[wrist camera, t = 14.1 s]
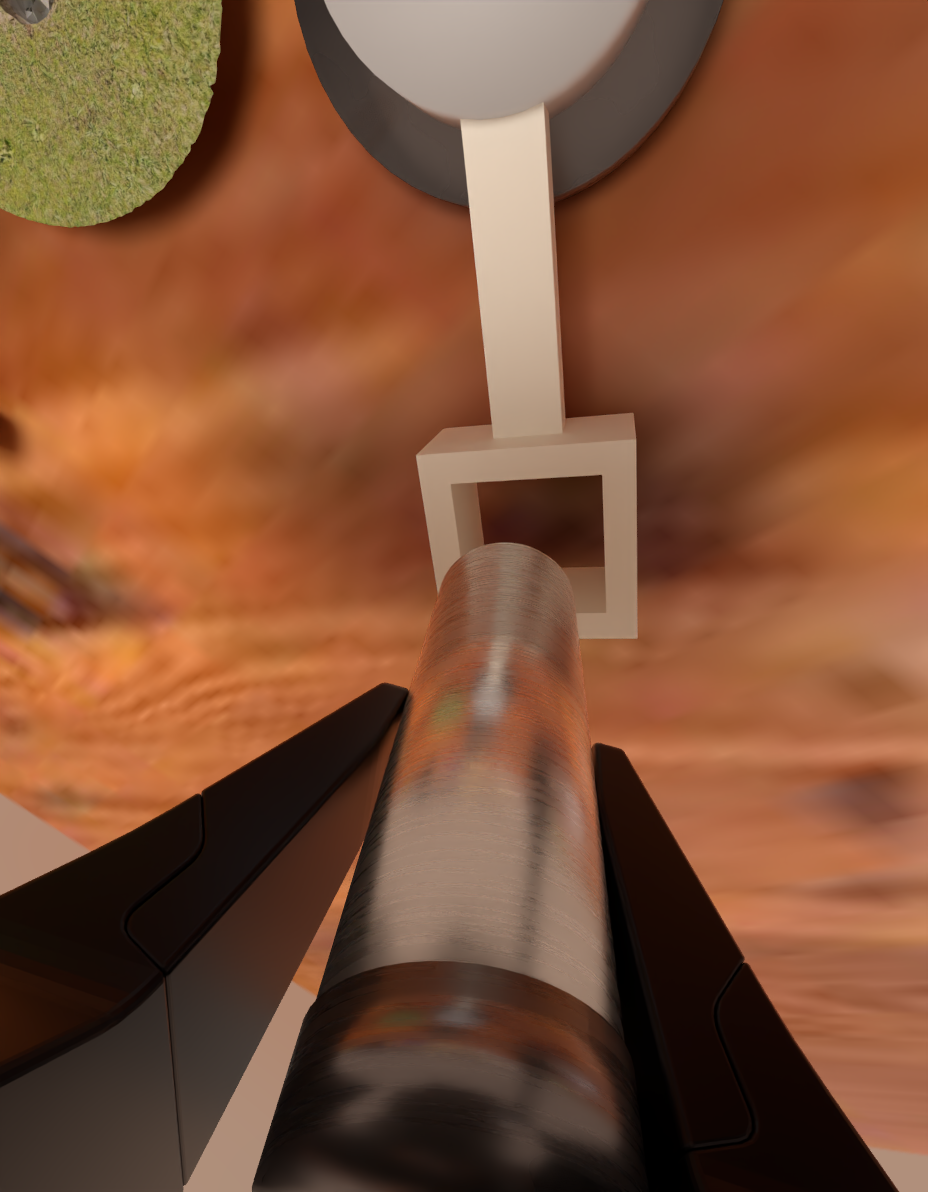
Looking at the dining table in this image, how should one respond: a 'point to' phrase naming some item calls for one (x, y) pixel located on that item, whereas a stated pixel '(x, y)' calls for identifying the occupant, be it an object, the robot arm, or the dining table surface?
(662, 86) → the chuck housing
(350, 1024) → the metal cylinder
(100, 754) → the dining table surface
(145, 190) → the mat
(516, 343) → the lever
